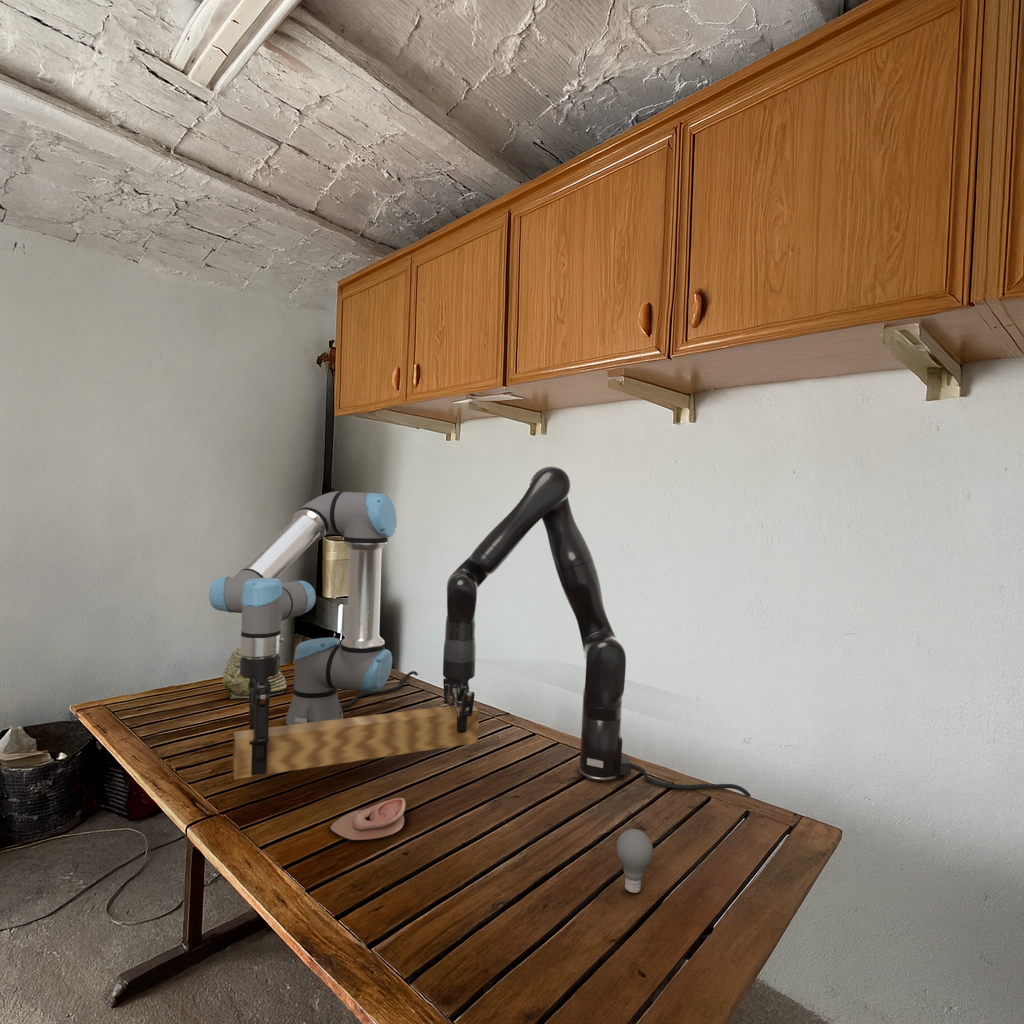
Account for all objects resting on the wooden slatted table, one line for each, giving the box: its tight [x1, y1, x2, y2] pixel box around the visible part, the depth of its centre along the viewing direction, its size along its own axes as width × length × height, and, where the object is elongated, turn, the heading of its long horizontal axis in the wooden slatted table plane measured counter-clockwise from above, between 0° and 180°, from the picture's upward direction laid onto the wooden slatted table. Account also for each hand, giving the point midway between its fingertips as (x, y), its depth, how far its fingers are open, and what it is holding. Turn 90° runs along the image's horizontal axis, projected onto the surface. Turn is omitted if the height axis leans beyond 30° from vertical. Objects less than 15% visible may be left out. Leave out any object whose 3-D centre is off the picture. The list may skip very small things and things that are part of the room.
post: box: [232, 705, 480, 780], centre depth 139 cm, size 53×5×8 cm, turn 117°
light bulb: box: [615, 828, 654, 894], centre depth 106 cm, size 6×6×10 cm
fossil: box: [222, 646, 288, 699], centre depth 198 cm, size 9×18×15 cm, turn 132°
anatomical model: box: [330, 797, 407, 841], centre depth 123 cm, size 13×4×12 cm
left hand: (257, 767), depth 129 cm, fingers closed on post, 5 cm apart
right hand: (456, 727), depth 149 cm, fingers closed on post, 5 cm apart
